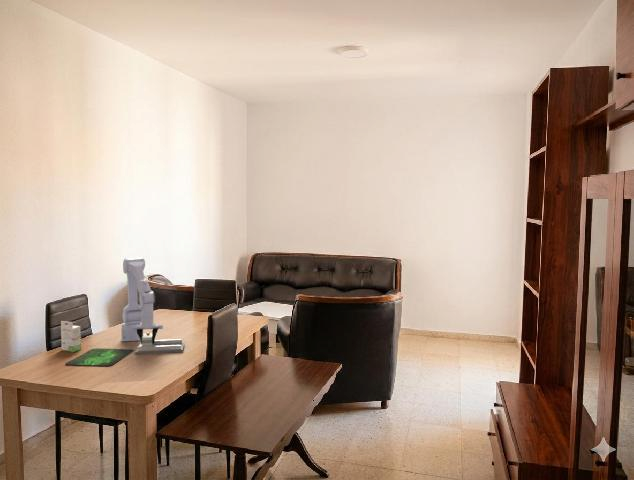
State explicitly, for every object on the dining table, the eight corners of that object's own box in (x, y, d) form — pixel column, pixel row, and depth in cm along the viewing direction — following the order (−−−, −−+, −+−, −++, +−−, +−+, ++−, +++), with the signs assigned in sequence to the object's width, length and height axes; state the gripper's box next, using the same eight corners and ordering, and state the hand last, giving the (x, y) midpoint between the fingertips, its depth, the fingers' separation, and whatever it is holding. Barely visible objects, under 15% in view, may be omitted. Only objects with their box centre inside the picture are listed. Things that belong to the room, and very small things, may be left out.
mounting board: (135, 354, 247) (135, 351, 247) (139, 346, 260) (139, 344, 260) (182, 352, 252) (182, 349, 252) (184, 344, 264) (184, 342, 264)
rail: (137, 351, 248) (137, 347, 248) (141, 344, 259) (141, 340, 259) (180, 349, 252) (180, 345, 252) (182, 342, 263) (182, 339, 263)
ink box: (81, 349, 255) (81, 320, 253) (73, 352, 250) (72, 322, 249) (69, 347, 258) (68, 318, 257) (61, 349, 254) (60, 320, 253)
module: (142, 349, 250) (141, 335, 250) (144, 345, 258) (143, 331, 258) (151, 349, 251) (151, 335, 251) (153, 344, 259) (153, 331, 259)
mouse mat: (93, 348, 257) (92, 346, 257) (136, 349, 256) (136, 347, 256) (63, 366, 230) (63, 364, 230) (111, 367, 229) (111, 365, 229)
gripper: (130, 319, 248) (131, 346, 249) (161, 317, 251) (162, 345, 252) (132, 315, 255) (133, 342, 256) (163, 314, 258) (163, 341, 259)
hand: (147, 343), depth 254 cm, fingers closed on module, 5 cm apart
